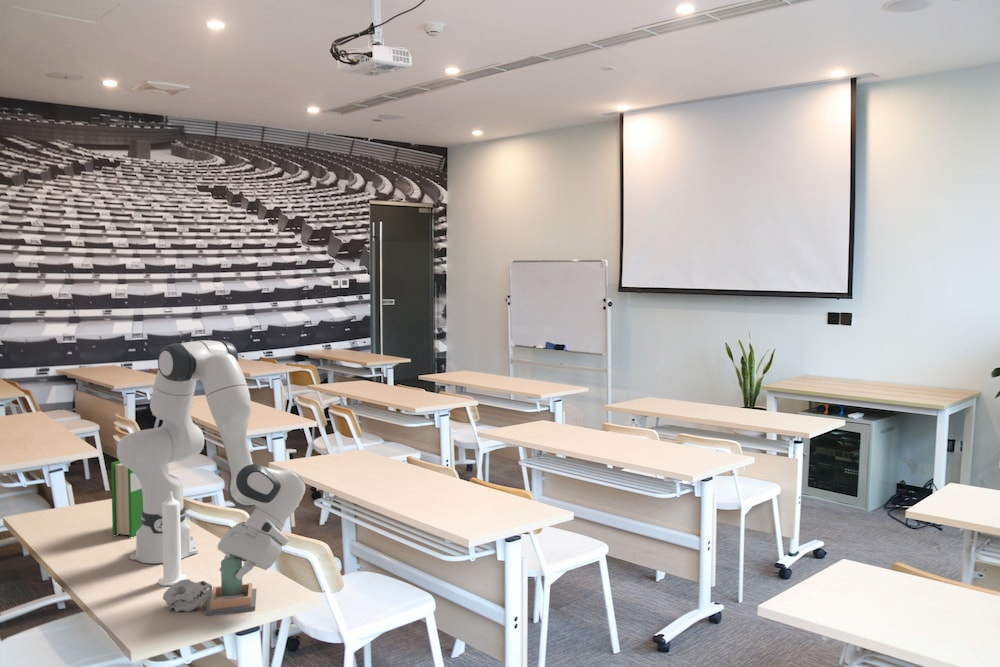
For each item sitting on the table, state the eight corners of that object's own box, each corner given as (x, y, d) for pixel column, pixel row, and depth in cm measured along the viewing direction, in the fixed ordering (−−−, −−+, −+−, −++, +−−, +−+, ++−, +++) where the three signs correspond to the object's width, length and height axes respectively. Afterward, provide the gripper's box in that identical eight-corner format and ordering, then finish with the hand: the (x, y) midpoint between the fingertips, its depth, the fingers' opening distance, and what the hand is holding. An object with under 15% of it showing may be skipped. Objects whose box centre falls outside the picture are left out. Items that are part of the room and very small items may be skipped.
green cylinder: (222, 588, 192) (221, 558, 191) (242, 586, 193) (242, 556, 193) (220, 596, 187) (220, 565, 186) (241, 594, 188) (241, 563, 188)
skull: (172, 589, 193) (203, 560, 191) (192, 617, 191) (223, 588, 189) (151, 599, 185) (183, 569, 183) (172, 628, 184) (204, 598, 182)
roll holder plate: (209, 597, 194) (209, 585, 194) (256, 592, 197) (256, 581, 197) (205, 615, 183) (205, 603, 183) (255, 610, 186) (255, 598, 186)
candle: (176, 587, 200) (174, 495, 199) (152, 585, 202) (150, 494, 200) (191, 577, 207) (190, 488, 206) (169, 575, 209) (167, 487, 207)
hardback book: (131, 538, 240) (130, 464, 239) (112, 536, 242) (111, 463, 241) (169, 521, 257) (168, 453, 256) (151, 520, 259) (149, 451, 258)
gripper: (232, 514, 201) (199, 560, 194) (277, 529, 188) (243, 578, 181) (247, 526, 205) (215, 571, 197) (292, 542, 192) (260, 591, 185)
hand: (229, 575), depth 189 cm, fingers closed on green cylinder, 5 cm apart
